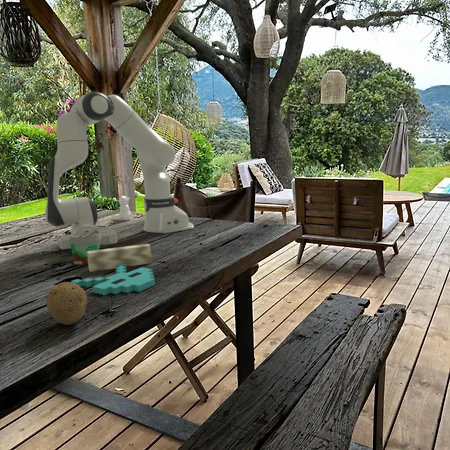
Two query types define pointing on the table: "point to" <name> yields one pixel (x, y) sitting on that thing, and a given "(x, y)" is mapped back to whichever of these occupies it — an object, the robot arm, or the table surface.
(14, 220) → the table surface
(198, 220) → the table surface
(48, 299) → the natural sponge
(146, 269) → the alien figure
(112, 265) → the birch board
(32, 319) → the table surface
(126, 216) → the sitting furry creature
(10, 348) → the table surface
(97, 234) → the food container
